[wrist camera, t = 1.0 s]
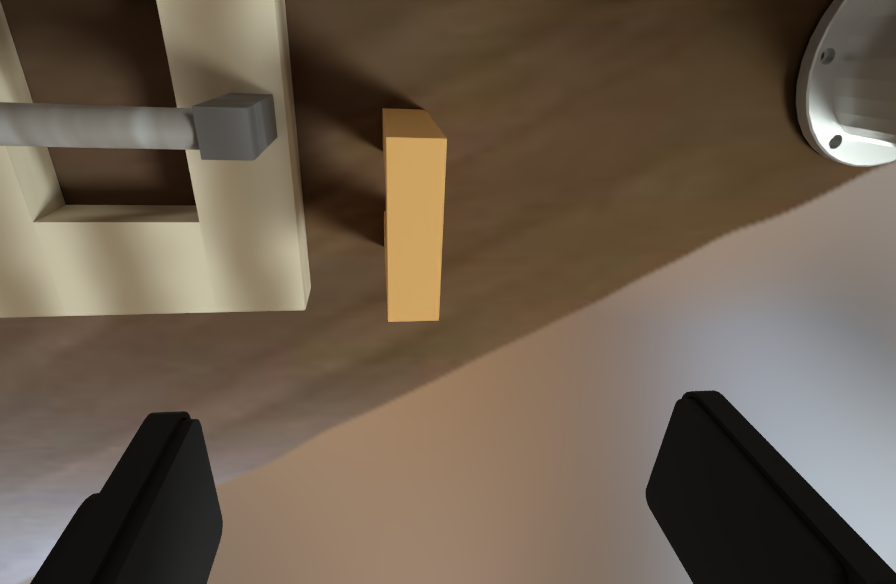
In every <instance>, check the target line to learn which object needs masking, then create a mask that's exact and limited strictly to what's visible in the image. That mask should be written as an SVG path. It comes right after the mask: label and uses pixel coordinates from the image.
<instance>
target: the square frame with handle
mask: <svg viewBox="0 0 896 584" xmlns="http://www.w3.org/2000/svg"><path fill="white" fill-rule="evenodd" d="M156 2H157V7H158V12H159V17H160V22H161V27H162V33H163V38H164V43H165V48H166V53H167V58H168V63H169V68H170V74H171V79H172V84H173V89H174V94H175V99H176V104H177V108H168V107H136V106H105V105H74V104H43V103H33V101H32V98H31V95H30V92H29V89H28V86H27V83H26V79H25V76H24V73H23V70H22V67H21V64H20V61H19V58H18V54H17V51H16V48H15V45H14V42H13V39H12V36H11V33H10V30H9V26H8V23H7V20H6V17H5V14H4V11H3V8H2V5H1V2H0V318H1V317H41V316H82V315H123V314H164V313H205V312H245V311H286V310H305V309H306V305H307V301H308V297H309V293H310V289H311V283H310V272H309V261H308V250H307V239H306V228H305V217H304V206H303V196H302V185H301V174H300V163H299V152H298V141H297V130H296V119H295V108H294V97H293V86H292V75H291V64H290V53H289V42H288V31H287V20H286V9H285V0H156ZM47 147H83V148H132V149H181V150H185V151H186V156H187V161H188V166H189V171H190V176H191V181H192V186H193V192H194V197H195V202H196V205H66V204H65V201H64V198H63V195H62V192H61V189H60V185H59V182H58V179H57V176H56V173H55V170H54V167H53V164H52V160H51V157H50V154H49V151H48V148H47Z"/></svg>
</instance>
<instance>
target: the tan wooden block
mask: <svg viewBox="0 0 896 584" xmlns="http://www.w3.org/2000/svg"><path fill="white" fill-rule="evenodd" d="M382 112H383V157H384V169H385V181H386V211H384V250H385V270H386V289H387V308H388V322H398V321H434V320H439V304H440V282H441V259H442V237H443V214H444V192H445V169H446V147H447V138H446V137H445V136H444V134H443V133H442V132H441V130H440V129H439V128H438V126H437V125H436V124H435V122H434V121H433V120H432V118H431V117H430V116H429V114H428V113H427V112H426V110H420V109H390V108H382Z"/></svg>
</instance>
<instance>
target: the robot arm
mask: <svg viewBox="0 0 896 584" xmlns="http://www.w3.org/2000/svg"><path fill="white" fill-rule="evenodd" d="M796 109H797V117H798V122H799V125H800V127H801V130H802V133H803V136H804V137H805V138H806V140H807V141H808V143H809V144H810V146H811V147H812V148H813V149H814V150H815V151H817V152H818V153H819V154H820V155H822V156H823V157H825V158H828V159H830V160H832V161H835V162H838V163H843V164H847V165H851V166H875V165H880V164H885V163H889V162H891V161H894V160H896V0H833V2H832V3H831V5H830V6H829V7H828V9H827V10H826V12H825V13H824V14H823V16H822V18H821V20H820V21H819V23H818V25H817V27H816V29H815V31H814V33H813V34H812V36H811V38H810V41H809V43H808V46H807V49H806V51H805V54H804V56H803V59H802V62H801V67H800V71H799V75H798V80H797V89H796ZM646 500H647V503H648V506H649V508H650V510H651V511H652V513H653V515H654V517H655V518H656V520H657V522H658V523H659V525H660V527H661V529H662V530H663V532H664V534H665V536H666V537H667V539H668V541H669V542H670V544H671V546H672V548H673V549H674V551H675V553H676V555H677V556H678V558H679V560H680V561H681V563H682V565H683V567H684V568H685V570H686V572H687V573H688V575H689V577H690V578H691V580H692V582H693V584H896V573H895V572H894V571H893V570H892V569H891V568H890V567H889V566H888V565H887V564H886V563H885V562H884V560H882V558H880V556H879V555H878V554H877V553H876V552H875V551H874V550H873V549H872V548H871V547H870V546H869V545H868V544H867V543H866V542H865V541H864V540H863V539H862V538H861V537H860V536H859V535H858V534H857V533H856V532H855V531H854V530H853V529H852V528H851V527H850V526H849V525H848V524H847V522H846V521H845V520H844V519H843V518H842V517H841V516H840V515H839V514H838V513H837V512H836V511H835V510H834V509H833V508H832V507H831V506H830V505H829V504H828V503H827V502H826V501H825V500H824V499H823V498H822V497H821V496H820V495H819V494H818V493H817V492H816V491H815V490H814V489H813V488H812V486H811V485H810V484H809V483H808V482H807V481H806V480H805V479H804V478H803V477H802V476H801V475H800V474H799V473H798V472H797V471H796V470H795V469H794V468H793V467H792V466H791V465H790V464H789V463H788V462H787V461H786V460H785V459H784V458H783V457H782V456H781V455H780V454H779V453H778V452H777V451H776V450H775V449H774V447H773V446H772V445H770V443H769V442H768V441H766V439H765V438H764V437H763V436H762V435H761V434H760V433H759V432H758V431H757V430H756V429H755V428H754V427H753V426H752V425H751V424H750V423H749V422H748V421H747V420H746V419H745V418H744V417H743V416H742V415H741V414H740V413H739V412H738V411H737V409H735V407H733V405H732V404H731V403H730V402H729V401H728V400H727V399H726V398H725V397H724V396H723V395H722V394H720V393H719V392H717V391H691V392H686V393H685V394H684V395H683V397H682V399H679V400H678V401H677V402H676V404H675V407H674V410H673V412H672V415H671V418H670V421H669V424H668V427H667V430H666V433H665V435H664V439H663V441H662V445H661V447H660V450H659V453H658V456H657V459H656V462H655V464H654V467H653V470H652V473H651V476H650V480H649V482H648V485H647V488H646ZM222 525H223V521H222V515H221V511H220V506H219V502H218V497H217V493H216V488H215V484H214V480H213V475H212V471H211V467H210V462H209V458H208V453H207V449H206V445H205V440H204V436H203V432H202V427H201V424H200V421H199V420H198V419H191V418H190V416H189V414H188V413H187V412H184V411H183V412H158V413H151V414H149V415H148V416H147V417H146V418H145V420H144V422H143V423H142V425H141V426H140V428H139V430H138V431H137V433H136V435H135V436H134V438H133V439H132V441H131V443H130V444H129V446H128V448H127V449H126V451H125V452H124V454H123V456H122V457H121V459H120V461H119V462H118V464H117V465H116V467H115V469H114V470H113V472H112V474H111V475H110V477H109V478H108V480H107V482H106V483H105V485H104V487H103V488H102V490H101V491H100V493H97V494H92V495H91V496H89V497H88V498H87V499H85V501H84V502H83V503H82V504H81V506H80V507H79V508H78V510H77V511H76V513H75V514H74V516H73V518H72V519H71V521H70V522H69V524H68V525H67V527H66V529H65V530H64V532H63V533H62V535H61V536H60V538H59V539H58V541H57V543H56V544H55V546H54V547H53V549H52V550H51V552H50V553H49V555H48V557H47V558H46V560H45V561H44V563H43V564H42V566H41V568H40V569H39V571H38V572H37V574H36V575H35V577H34V578H33V580H32V582H31V583H30V584H207V581H208V577H209V574H210V571H211V568H212V565H213V562H214V558H215V555H216V552H217V549H218V546H219V543H220V539H221V535H222V527H223V526H222Z"/></svg>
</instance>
